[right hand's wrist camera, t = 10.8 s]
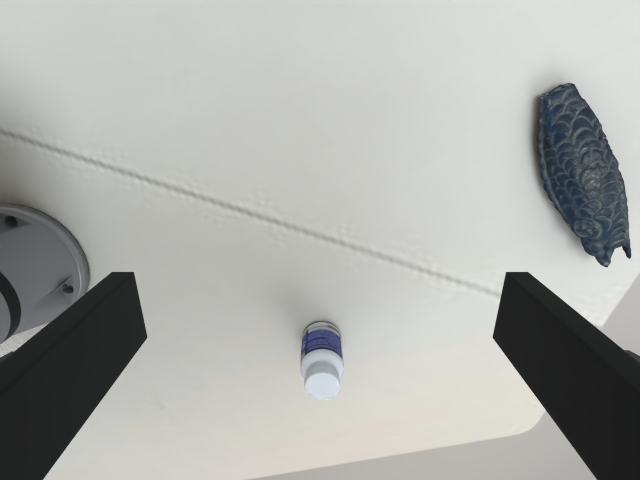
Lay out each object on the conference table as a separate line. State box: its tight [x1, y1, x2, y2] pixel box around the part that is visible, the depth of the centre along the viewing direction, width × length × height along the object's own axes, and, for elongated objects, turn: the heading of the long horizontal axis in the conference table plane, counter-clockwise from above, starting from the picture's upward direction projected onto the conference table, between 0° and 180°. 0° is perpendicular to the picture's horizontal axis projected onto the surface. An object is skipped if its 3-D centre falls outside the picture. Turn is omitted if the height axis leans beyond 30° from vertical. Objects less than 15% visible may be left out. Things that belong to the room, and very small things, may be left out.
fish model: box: [537, 83, 631, 267], centre depth 38 cm, size 7×21×5 cm, turn 29°
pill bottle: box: [300, 322, 344, 400], centre depth 44 cm, size 5×5×9 cm
